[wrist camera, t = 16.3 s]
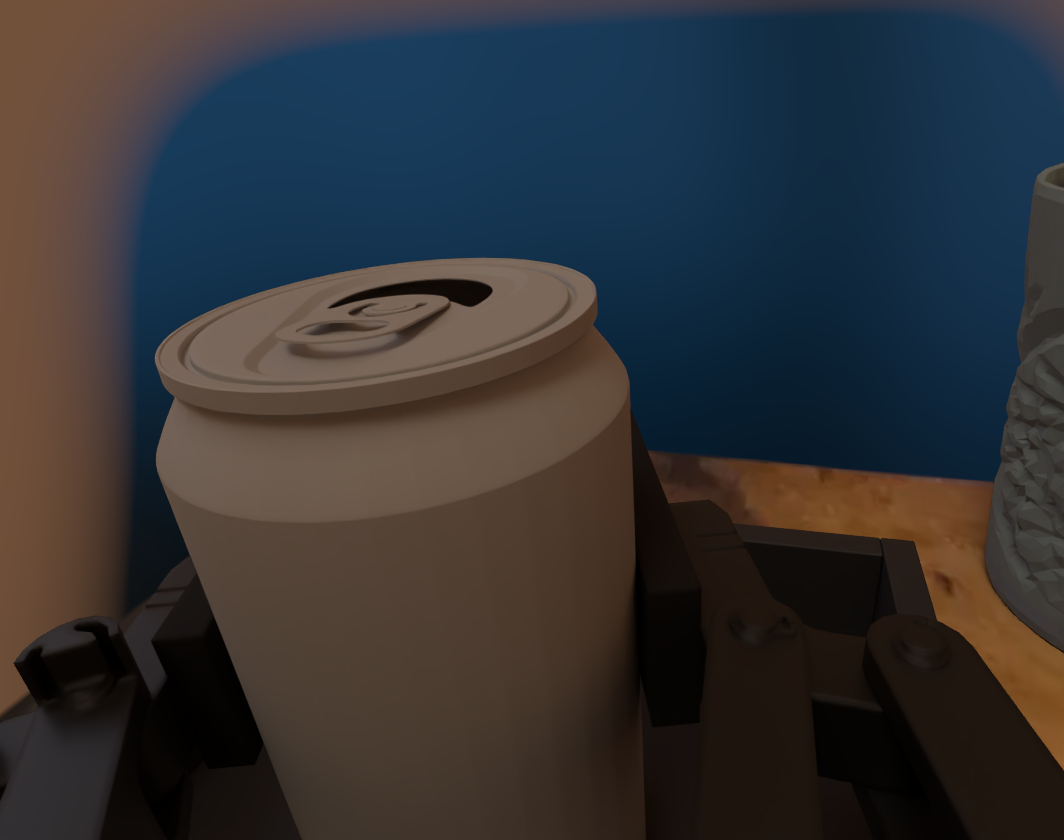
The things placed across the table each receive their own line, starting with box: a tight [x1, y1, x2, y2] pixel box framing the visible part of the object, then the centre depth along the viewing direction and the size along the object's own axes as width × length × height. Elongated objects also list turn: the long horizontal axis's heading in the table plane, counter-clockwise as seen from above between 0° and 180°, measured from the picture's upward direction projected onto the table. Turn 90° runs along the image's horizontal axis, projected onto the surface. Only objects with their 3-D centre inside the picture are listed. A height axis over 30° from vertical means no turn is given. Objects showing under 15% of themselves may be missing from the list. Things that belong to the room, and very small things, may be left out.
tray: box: [186, 523, 937, 840], centre depth 13 cm, size 18×18×4 cm
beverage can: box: [155, 258, 646, 840], centre depth 11 cm, size 6×6×12 cm
